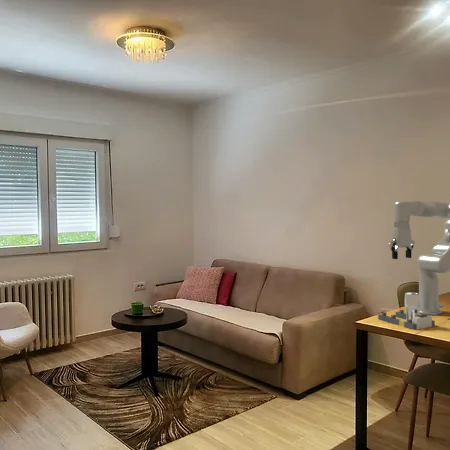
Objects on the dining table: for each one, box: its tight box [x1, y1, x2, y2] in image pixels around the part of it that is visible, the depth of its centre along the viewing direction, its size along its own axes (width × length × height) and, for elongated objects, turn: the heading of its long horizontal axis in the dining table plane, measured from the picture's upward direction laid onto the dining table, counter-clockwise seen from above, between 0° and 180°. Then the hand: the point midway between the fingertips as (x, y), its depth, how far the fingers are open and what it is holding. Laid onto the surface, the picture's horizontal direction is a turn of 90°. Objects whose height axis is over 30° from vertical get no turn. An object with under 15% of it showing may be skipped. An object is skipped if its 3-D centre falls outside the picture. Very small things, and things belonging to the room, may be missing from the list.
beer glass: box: [404, 291, 420, 323], centre depth 217 cm, size 7×7×15 cm
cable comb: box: [377, 309, 436, 331], centre depth 220 cm, size 14×22×6 cm, turn 26°
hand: (401, 258), depth 232 cm, fingers open, 9 cm apart
